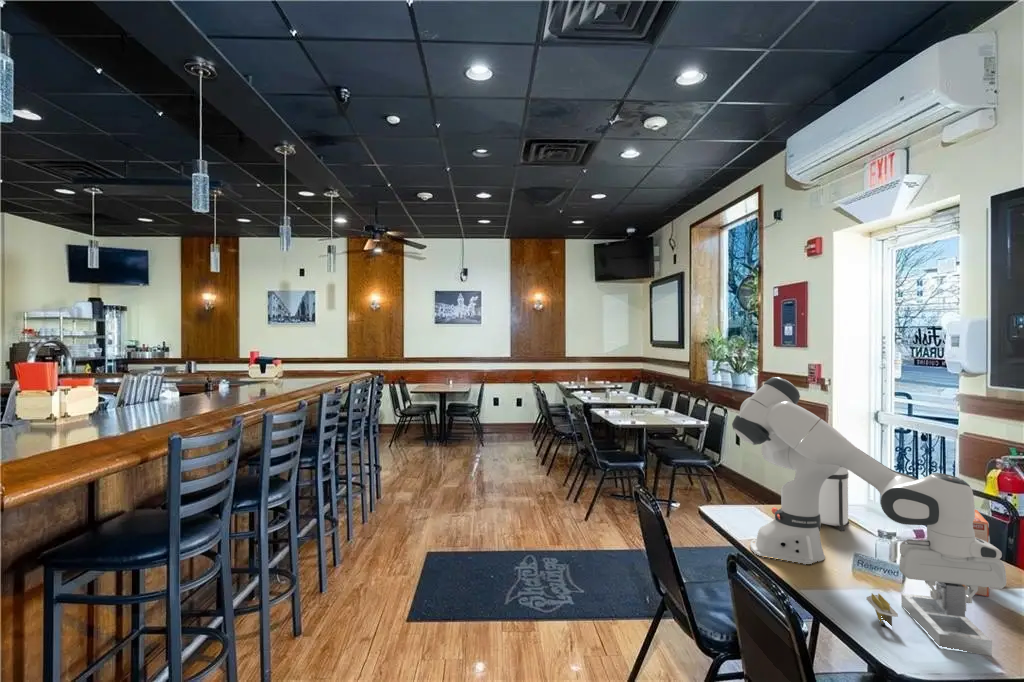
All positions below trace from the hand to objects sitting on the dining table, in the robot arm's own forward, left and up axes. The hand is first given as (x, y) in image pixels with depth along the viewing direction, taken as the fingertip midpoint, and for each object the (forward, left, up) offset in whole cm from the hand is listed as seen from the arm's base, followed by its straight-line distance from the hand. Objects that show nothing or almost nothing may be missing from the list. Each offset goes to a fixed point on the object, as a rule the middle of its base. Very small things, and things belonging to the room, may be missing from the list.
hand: (950, 600), depth 124 cm
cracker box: (+20, +34, -10) cm, 40 cm away
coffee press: (-4, +80, -10) cm, 80 cm away
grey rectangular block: (0, 0, -3) cm, 3 cm away
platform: (-13, +4, -10) cm, 17 cm away
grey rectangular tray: (0, +5, -9) cm, 11 cm away
